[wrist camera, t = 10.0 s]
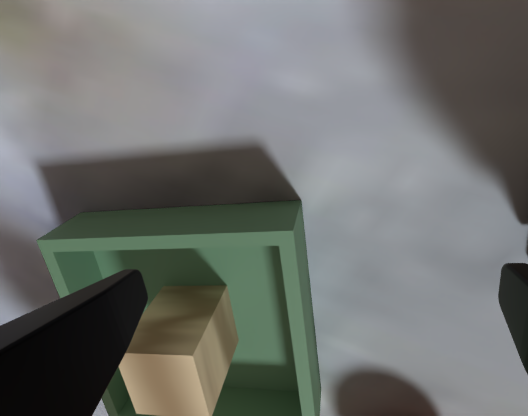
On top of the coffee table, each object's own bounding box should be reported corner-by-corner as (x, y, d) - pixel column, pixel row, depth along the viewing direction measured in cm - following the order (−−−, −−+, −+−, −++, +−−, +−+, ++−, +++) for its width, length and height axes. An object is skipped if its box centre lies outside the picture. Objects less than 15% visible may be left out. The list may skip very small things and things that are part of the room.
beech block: (227, 285, 23) (192, 355, 18) (238, 340, 25) (210, 419, 20) (163, 286, 24) (113, 352, 19) (178, 338, 26) (136, 413, 21)
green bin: (301, 200, 21) (293, 230, 18) (321, 389, 27) (318, 441, 23) (80, 212, 25) (36, 240, 21) (138, 377, 30) (111, 422, 27)
